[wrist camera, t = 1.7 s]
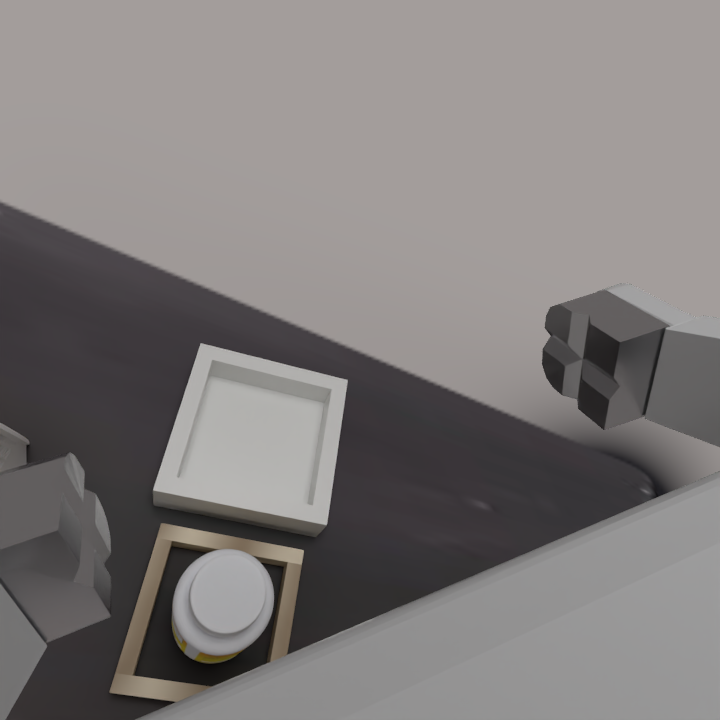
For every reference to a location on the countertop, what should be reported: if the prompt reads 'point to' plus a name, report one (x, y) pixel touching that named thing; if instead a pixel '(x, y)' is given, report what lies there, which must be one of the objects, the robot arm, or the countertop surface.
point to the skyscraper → (12, 448)
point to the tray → (254, 443)
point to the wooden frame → (150, 588)
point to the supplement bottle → (221, 605)
